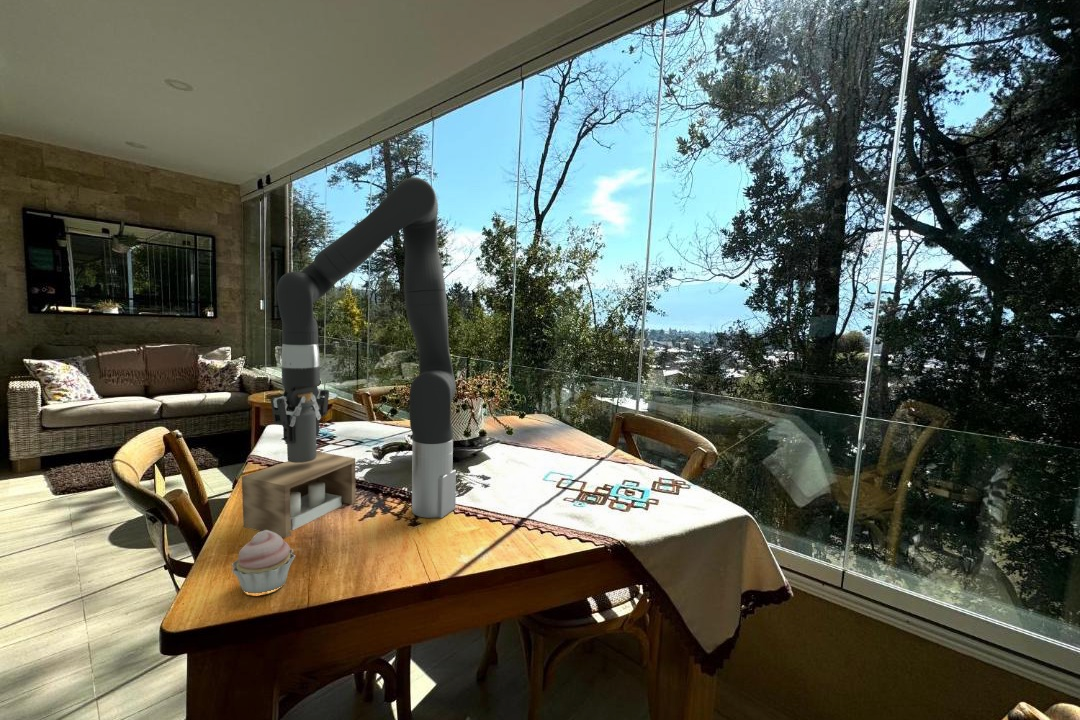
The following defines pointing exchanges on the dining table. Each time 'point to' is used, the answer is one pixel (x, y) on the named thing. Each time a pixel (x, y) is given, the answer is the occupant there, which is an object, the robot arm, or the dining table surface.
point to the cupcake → (263, 563)
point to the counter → (293, 489)
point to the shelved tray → (316, 510)
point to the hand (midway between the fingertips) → (302, 439)
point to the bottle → (304, 434)
